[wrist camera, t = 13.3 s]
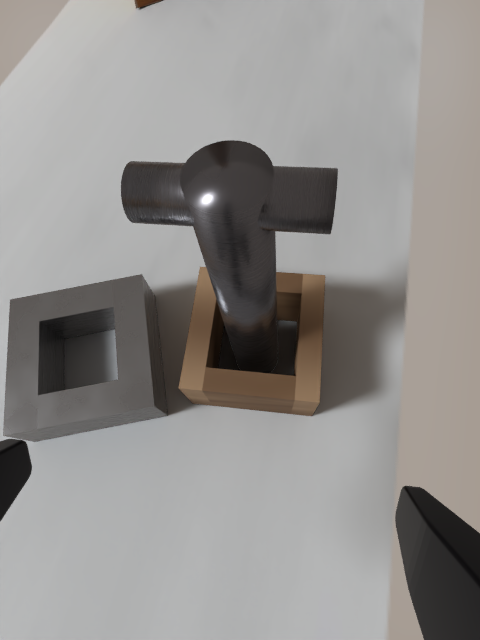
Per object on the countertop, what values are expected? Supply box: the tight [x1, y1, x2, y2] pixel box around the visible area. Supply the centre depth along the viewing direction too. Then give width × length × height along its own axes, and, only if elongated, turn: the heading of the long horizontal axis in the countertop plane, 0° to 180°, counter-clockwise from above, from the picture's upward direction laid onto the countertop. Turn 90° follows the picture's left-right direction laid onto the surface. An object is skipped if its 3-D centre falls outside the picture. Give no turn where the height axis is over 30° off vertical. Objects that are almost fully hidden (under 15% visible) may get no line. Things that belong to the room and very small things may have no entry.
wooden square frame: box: [179, 267, 325, 416], centre depth 23 cm, size 7×7×4 cm
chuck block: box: [3, 274, 168, 442], centre depth 24 cm, size 8×8×3 cm
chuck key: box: [121, 141, 338, 373], centre depth 18 cm, size 6×3×15 cm, turn 82°
